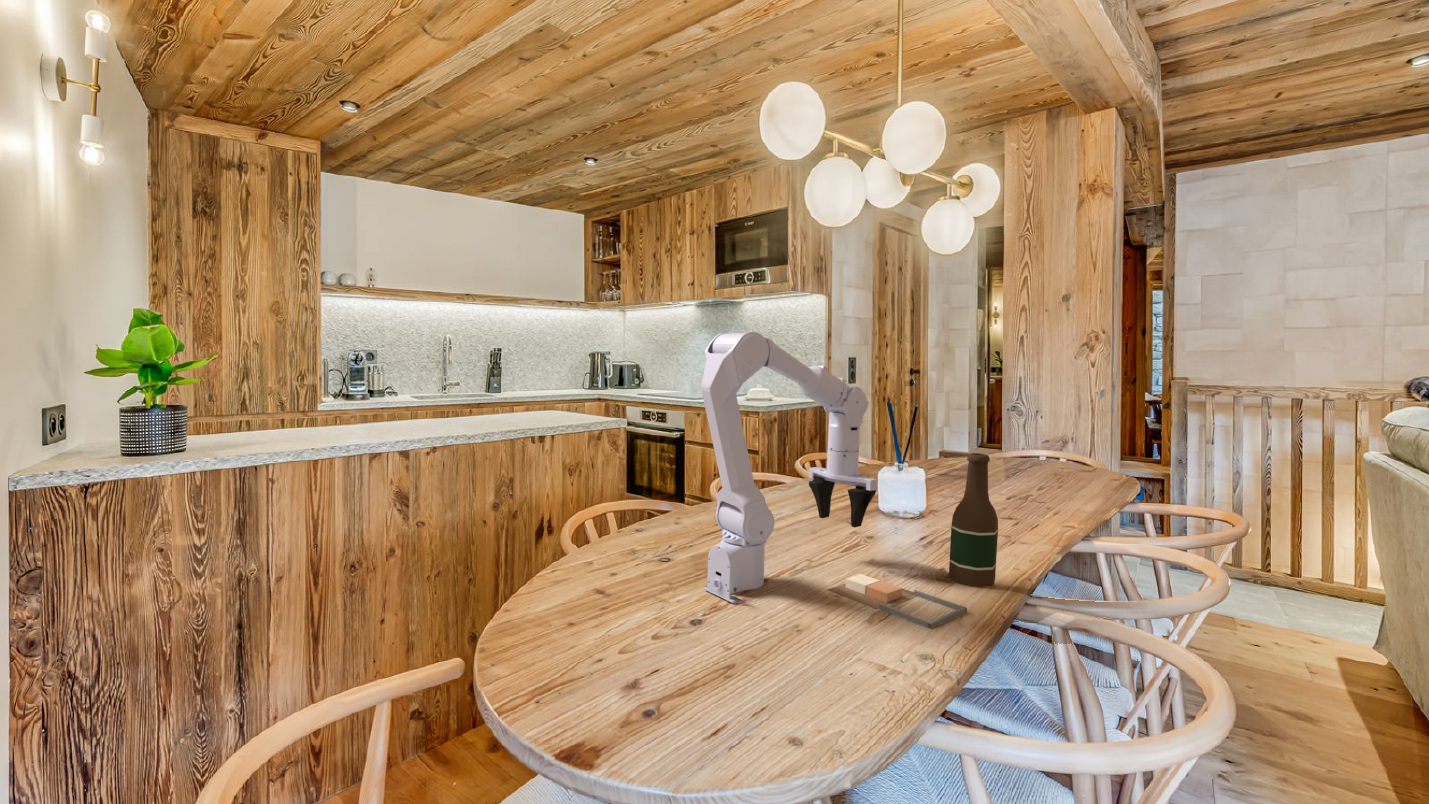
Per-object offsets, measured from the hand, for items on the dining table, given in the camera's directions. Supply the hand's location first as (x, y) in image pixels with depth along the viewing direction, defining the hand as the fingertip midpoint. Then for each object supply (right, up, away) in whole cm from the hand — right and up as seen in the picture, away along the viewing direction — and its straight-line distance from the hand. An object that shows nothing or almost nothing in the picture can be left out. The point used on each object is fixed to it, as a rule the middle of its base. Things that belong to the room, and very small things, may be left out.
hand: (839, 521), depth 120 cm
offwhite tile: (+2, -9, -12) cm, 15 cm away
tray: (+9, -11, -21) cm, 25 cm away
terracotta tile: (+4, -9, -15) cm, 18 cm away
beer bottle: (+22, -11, -6) cm, 25 cm away
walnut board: (+3, -11, -13) cm, 17 cm away
